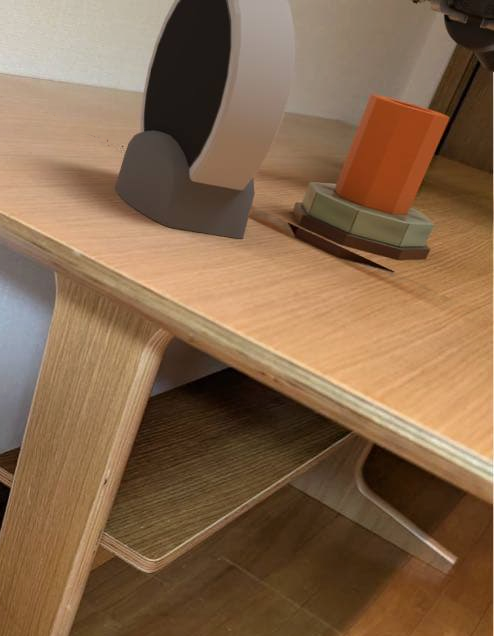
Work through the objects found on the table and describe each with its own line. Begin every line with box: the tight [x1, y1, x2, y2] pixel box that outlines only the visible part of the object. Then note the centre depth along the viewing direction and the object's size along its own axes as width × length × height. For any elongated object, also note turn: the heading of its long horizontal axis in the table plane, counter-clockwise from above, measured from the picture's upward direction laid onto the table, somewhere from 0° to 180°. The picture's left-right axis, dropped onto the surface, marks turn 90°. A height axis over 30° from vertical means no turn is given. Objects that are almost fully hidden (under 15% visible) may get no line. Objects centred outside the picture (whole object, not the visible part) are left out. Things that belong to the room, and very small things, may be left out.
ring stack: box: [288, 181, 435, 273], centre depth 75 cm, size 12×12×4 cm
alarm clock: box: [115, 0, 296, 240], centre depth 66 cm, size 16×10×18 cm, turn 18°
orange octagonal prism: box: [335, 93, 450, 214], centre depth 71 cm, size 6×6×8 cm
